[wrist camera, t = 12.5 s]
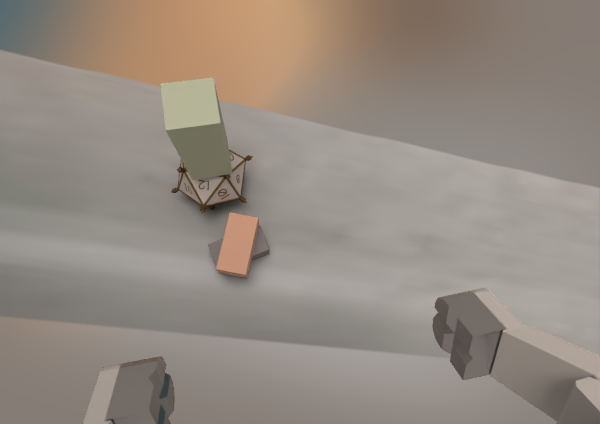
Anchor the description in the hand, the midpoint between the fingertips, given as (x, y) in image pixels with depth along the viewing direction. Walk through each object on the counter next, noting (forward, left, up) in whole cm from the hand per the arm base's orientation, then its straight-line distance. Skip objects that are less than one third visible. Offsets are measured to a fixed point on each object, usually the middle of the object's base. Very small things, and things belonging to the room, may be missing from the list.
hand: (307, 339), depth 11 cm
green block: (-4, +17, -23) cm, 30 cm away
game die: (-5, +17, -32) cm, 36 cm away
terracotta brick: (-3, +9, -29) cm, 30 cm away
